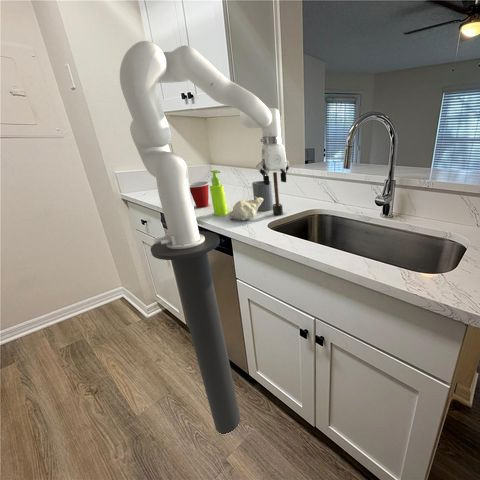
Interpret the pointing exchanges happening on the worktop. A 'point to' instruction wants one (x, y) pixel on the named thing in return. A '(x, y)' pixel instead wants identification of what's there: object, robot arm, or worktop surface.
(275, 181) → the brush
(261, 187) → the gray cup
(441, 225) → the worktop surface
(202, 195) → the plastic cup
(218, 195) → the soap dispenser
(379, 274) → the worktop surface
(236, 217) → the cream spiral shell
